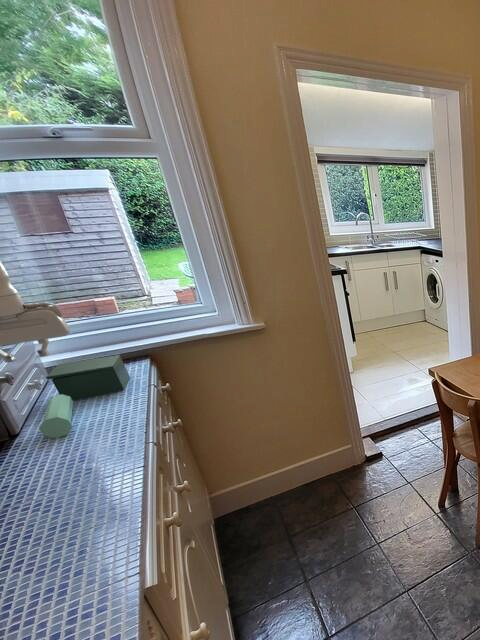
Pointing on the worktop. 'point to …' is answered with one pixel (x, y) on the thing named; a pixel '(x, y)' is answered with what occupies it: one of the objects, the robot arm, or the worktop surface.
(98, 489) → the worktop surface
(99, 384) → the case
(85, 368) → the case lid
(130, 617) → the worktop surface
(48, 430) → the light green cylinder
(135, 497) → the worktop surface
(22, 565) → the worktop surface
